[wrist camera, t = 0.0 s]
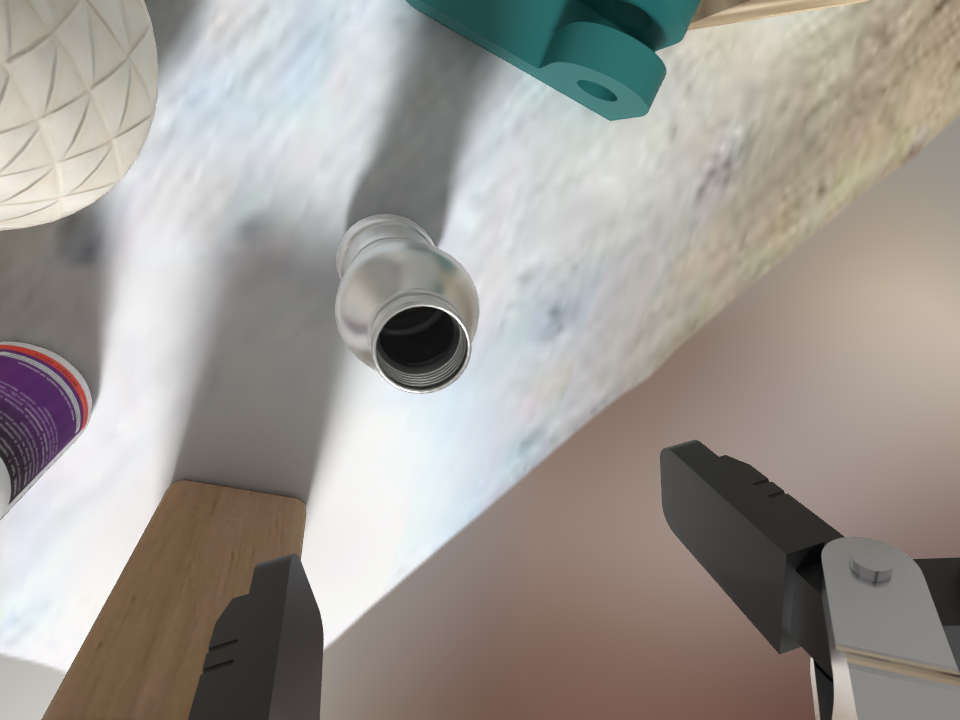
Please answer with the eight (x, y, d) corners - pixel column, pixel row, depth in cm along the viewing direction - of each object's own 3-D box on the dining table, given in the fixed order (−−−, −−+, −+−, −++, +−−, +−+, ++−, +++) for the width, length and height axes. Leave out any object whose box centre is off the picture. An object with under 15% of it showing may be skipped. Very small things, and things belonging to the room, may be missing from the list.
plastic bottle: (345, 199, 36) (343, 240, 18) (442, 223, 38) (531, 282, 20) (329, 291, 38) (311, 416, 20) (422, 310, 40) (486, 438, 22)
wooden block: (310, 495, 43) (282, 743, 25) (279, 594, 45) (234, 886, 27) (173, 472, 40) (24, 738, 21) (148, 580, 42) (-3, 900, 24)
